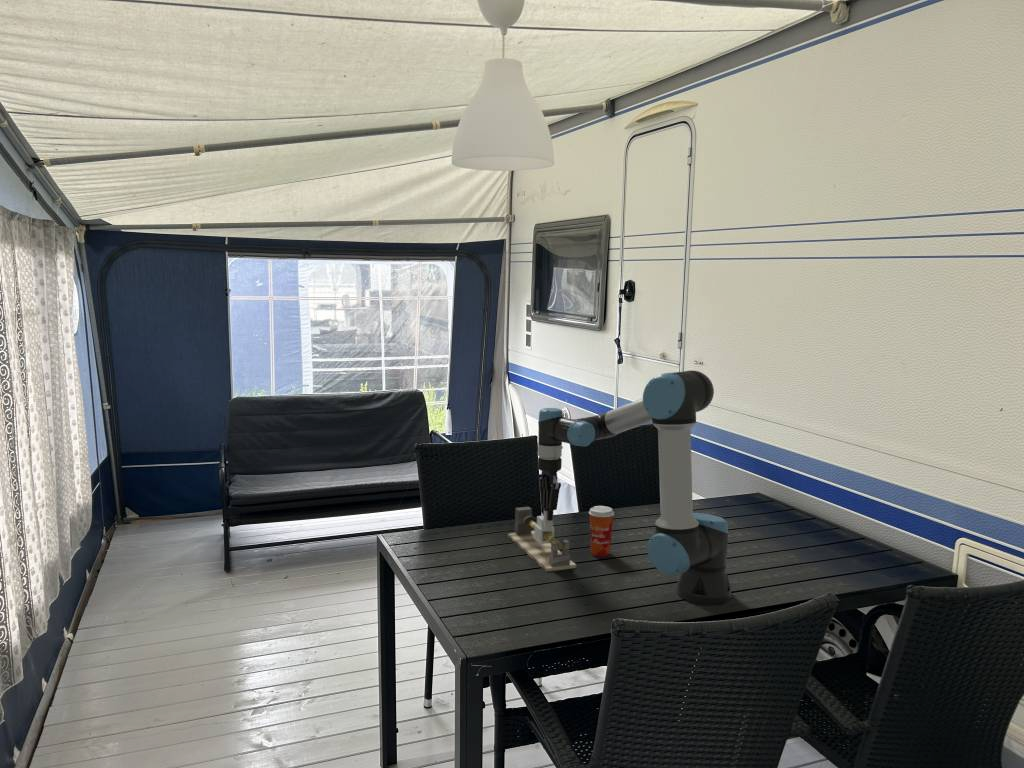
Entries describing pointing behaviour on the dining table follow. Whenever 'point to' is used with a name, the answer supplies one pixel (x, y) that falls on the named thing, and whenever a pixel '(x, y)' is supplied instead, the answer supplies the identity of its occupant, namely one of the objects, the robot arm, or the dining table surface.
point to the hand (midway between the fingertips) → (548, 529)
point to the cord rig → (538, 552)
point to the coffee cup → (600, 530)
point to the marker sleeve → (541, 531)
